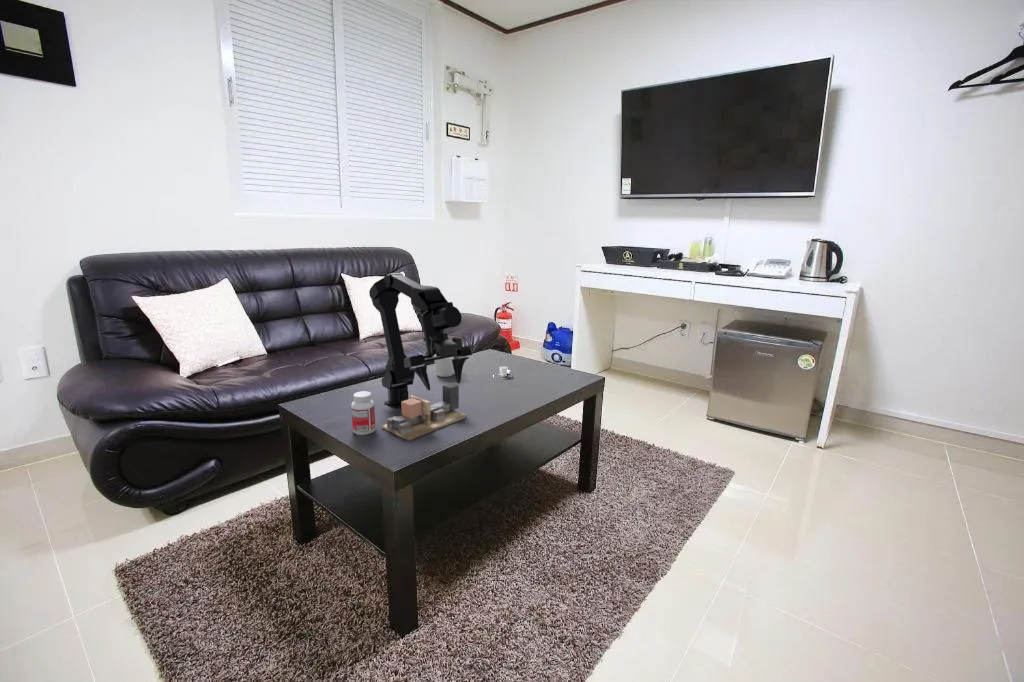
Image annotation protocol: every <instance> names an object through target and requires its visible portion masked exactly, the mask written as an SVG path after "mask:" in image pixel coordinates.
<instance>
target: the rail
mask: <svg viewBox="0 0 1024 682" xmlns="http://www.w3.org/2000/svg"><path fill="white" fill-rule="evenodd" d="M408 398H409V399H411V398H414V399H417V400H419V401H422V413H424V414H425V421H423V422H420V423H417V424H415V425H412V426H411V422H408V421H406V422H403V423H400V424H399V430H398V429H396V428H394V427H393V419H394V418H396V417H398V416H396V415H394V416H392V417H389V418H387V419H386V423H384V424H383V425H381V429H383V430H385V431H388V432H390V433H392V434H393V435H396V436H398V437H400V438H402V439H404V440H407V441H408V442H409V441H411V440H414V439H416V438H418V437H421V436H424V435H426V434H428V433H431V432H434V431H436V430H438V429H441V428H443V427H445V426H449V425H451V424H453V423H456V422H458V421H460V420H463V419H465V418H467V414H465V413H462V412H460V411H457V410H456V409H455V410H452V411H449V412H446V413H445V410H443V409H438V410H436V411H433V418H430V405H431V401H429V400H426V399H424V398H421V397H419V396H416V395H414V394H411V395H408Z"/></svg>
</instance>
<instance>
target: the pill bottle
mask: <svg viewBox="0 0 1024 682" xmlns="http://www.w3.org/2000/svg"><path fill="white" fill-rule="evenodd" d="M350 406H351V407H350V409H351V424H352V426H351V427H352V432H353V433H354V434H355V435H358V436H365V435H371V434H373V433H374V432H375V431H376V412H375V411H376V409H375V402H374V400H373V399H372V392H370V391H368V390H362V391H357V392H354V394H353V401H352V402H351V405H350Z"/></svg>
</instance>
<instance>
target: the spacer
mask: <svg viewBox="0 0 1024 682" xmlns="http://www.w3.org/2000/svg"><path fill="white" fill-rule="evenodd" d="M400 408H401V416H402V415H403V416H406V417H408V418H410V419H411V418H414V417H416V416H419V415H422V401H419V400H417V399H414V398H411V399H410V398H409V399H408V400H405V401H402V402H401V407H400Z"/></svg>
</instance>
